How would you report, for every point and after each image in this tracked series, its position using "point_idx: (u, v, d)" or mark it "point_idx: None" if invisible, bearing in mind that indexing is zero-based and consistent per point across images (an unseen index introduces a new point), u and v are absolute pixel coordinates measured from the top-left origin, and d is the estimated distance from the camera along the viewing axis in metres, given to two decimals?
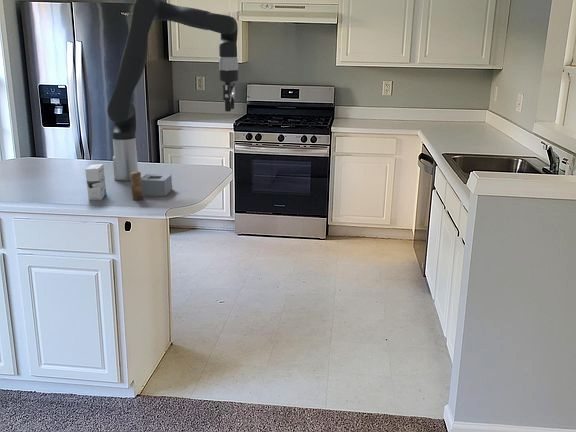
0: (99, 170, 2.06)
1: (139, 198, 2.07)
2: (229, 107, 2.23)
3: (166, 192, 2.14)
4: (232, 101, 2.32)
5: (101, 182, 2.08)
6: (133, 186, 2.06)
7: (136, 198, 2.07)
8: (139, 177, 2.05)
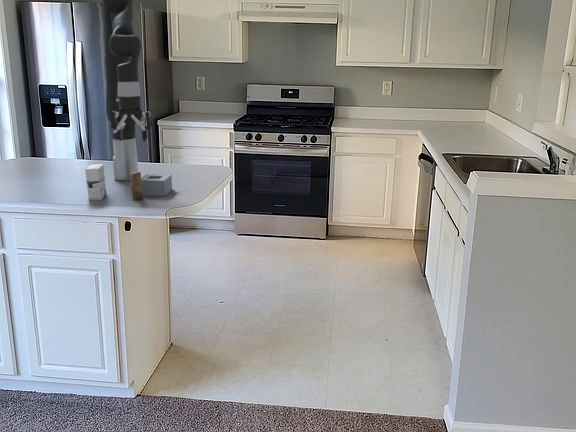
0: (99, 170, 2.06)
1: (139, 198, 2.07)
2: None
3: (166, 192, 2.14)
4: (122, 131, 2.02)
5: (101, 182, 2.08)
6: (133, 186, 2.06)
7: (136, 198, 2.07)
8: (139, 177, 2.05)
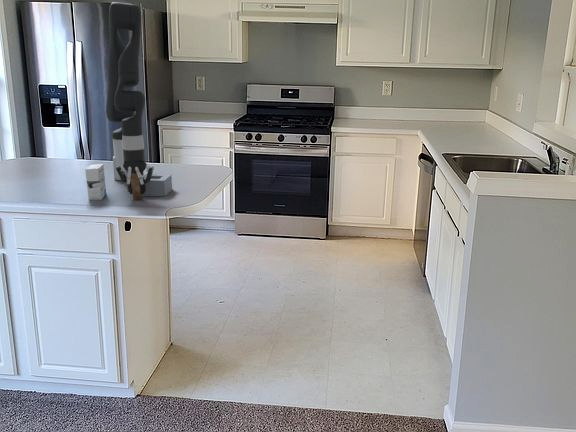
0: (99, 170, 2.06)
1: (139, 198, 2.07)
2: None
3: (166, 192, 2.14)
4: None
5: (101, 182, 2.08)
6: (133, 186, 2.06)
7: (136, 198, 2.07)
8: None
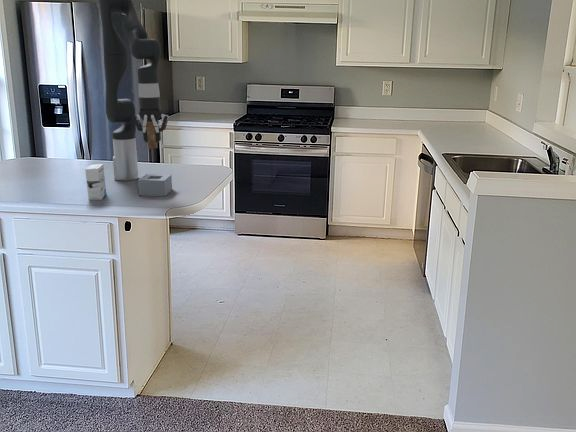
0: (99, 170, 2.06)
1: (154, 146, 2.11)
2: None
3: (166, 192, 2.14)
4: None
5: (101, 182, 2.08)
6: (149, 134, 2.10)
7: (151, 146, 2.11)
8: None
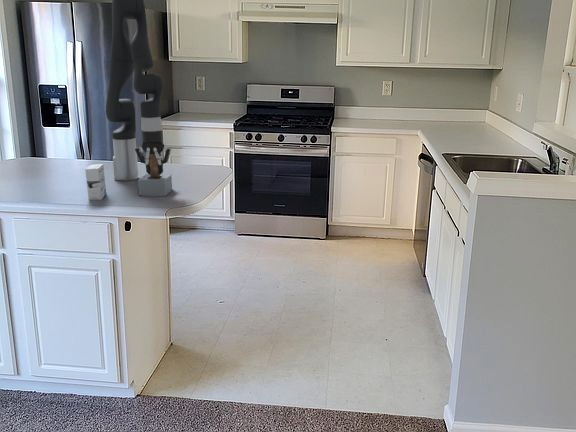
0: (99, 170, 2.06)
1: (157, 178, 2.15)
2: None
3: (166, 192, 2.14)
4: None
5: (101, 182, 2.08)
6: (151, 166, 2.13)
7: (154, 178, 2.14)
8: None
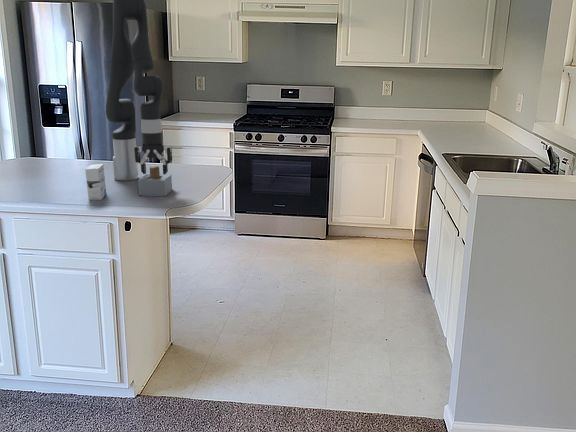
0: (99, 170, 2.06)
1: None
2: None
3: (166, 192, 2.14)
4: (145, 165, 2.16)
5: (101, 182, 2.08)
6: None
7: None
8: (158, 171, 2.15)
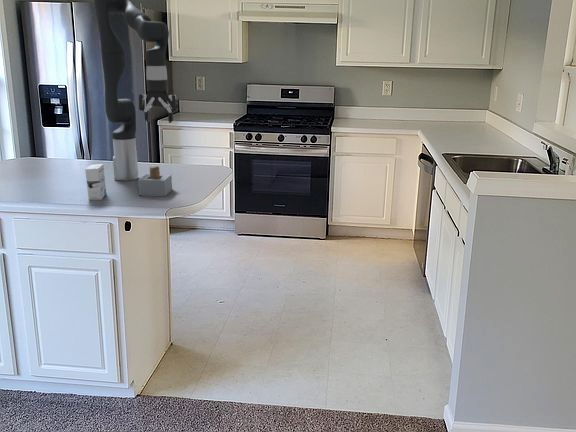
0: (99, 170, 2.06)
1: None
2: None
3: (166, 192, 2.14)
4: (149, 113, 2.14)
5: (101, 182, 2.08)
6: None
7: None
8: (158, 171, 2.15)
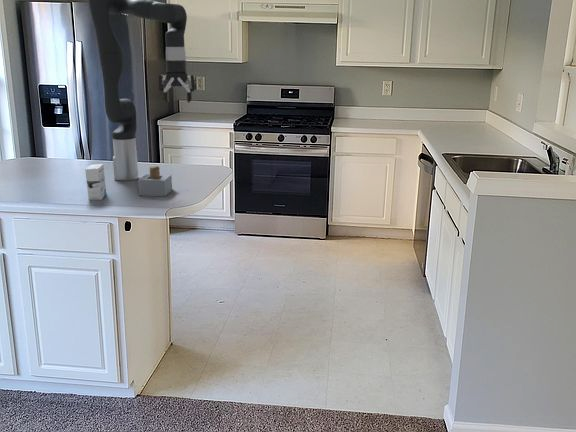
0: (99, 170, 2.06)
1: None
2: None
3: (166, 192, 2.14)
4: (168, 93, 2.21)
5: (101, 182, 2.08)
6: None
7: None
8: (158, 171, 2.15)
